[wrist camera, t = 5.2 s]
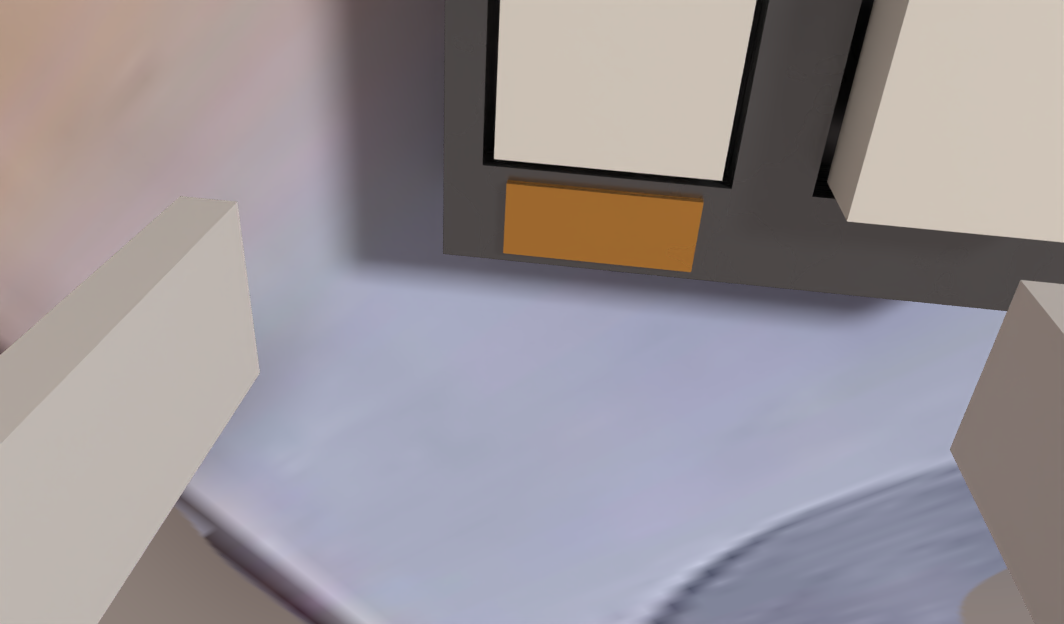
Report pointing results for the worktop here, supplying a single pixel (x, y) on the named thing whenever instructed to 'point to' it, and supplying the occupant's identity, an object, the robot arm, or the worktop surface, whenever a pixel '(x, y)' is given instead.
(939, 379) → the worktop surface
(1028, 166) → the block
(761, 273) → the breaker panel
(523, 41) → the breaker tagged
